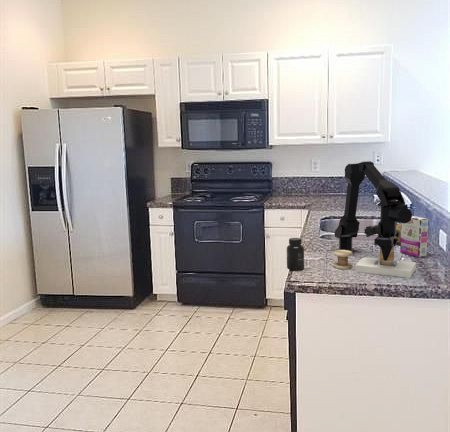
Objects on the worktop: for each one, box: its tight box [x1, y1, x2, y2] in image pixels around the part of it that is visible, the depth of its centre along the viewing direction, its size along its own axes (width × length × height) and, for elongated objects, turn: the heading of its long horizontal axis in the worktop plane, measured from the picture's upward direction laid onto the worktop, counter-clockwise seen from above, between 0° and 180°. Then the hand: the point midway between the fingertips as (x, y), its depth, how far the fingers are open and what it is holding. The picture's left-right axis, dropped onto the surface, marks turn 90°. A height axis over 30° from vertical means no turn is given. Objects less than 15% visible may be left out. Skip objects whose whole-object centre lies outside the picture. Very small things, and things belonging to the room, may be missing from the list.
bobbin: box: [333, 249, 353, 270], centre depth 190 cm, size 7×7×6 cm
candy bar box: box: [399, 215, 430, 259], centre depth 205 cm, size 11×5×16 cm, turn 23°
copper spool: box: [379, 245, 395, 266], centre depth 185 cm, size 5×5×8 cm
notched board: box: [354, 257, 417, 279], centre depth 184 cm, size 13×20×2 cm, turn 61°
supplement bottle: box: [286, 237, 305, 272], centre depth 188 cm, size 7×7×12 cm
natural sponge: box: [394, 223, 401, 245], centre depth 224 cm, size 9×9×10 cm
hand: (386, 258), depth 185 cm, fingers closed on copper spool, 5 cm apart
